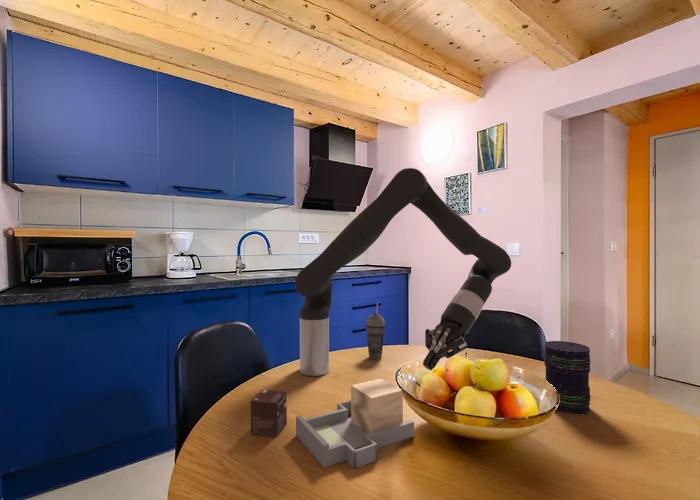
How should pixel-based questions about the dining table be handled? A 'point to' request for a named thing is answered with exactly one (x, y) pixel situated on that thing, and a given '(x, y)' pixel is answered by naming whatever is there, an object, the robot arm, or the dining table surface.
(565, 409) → the black striped cylinder
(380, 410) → the maple cube
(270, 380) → the dining table surface
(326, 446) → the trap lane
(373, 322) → the beverage cup
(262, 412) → the box
